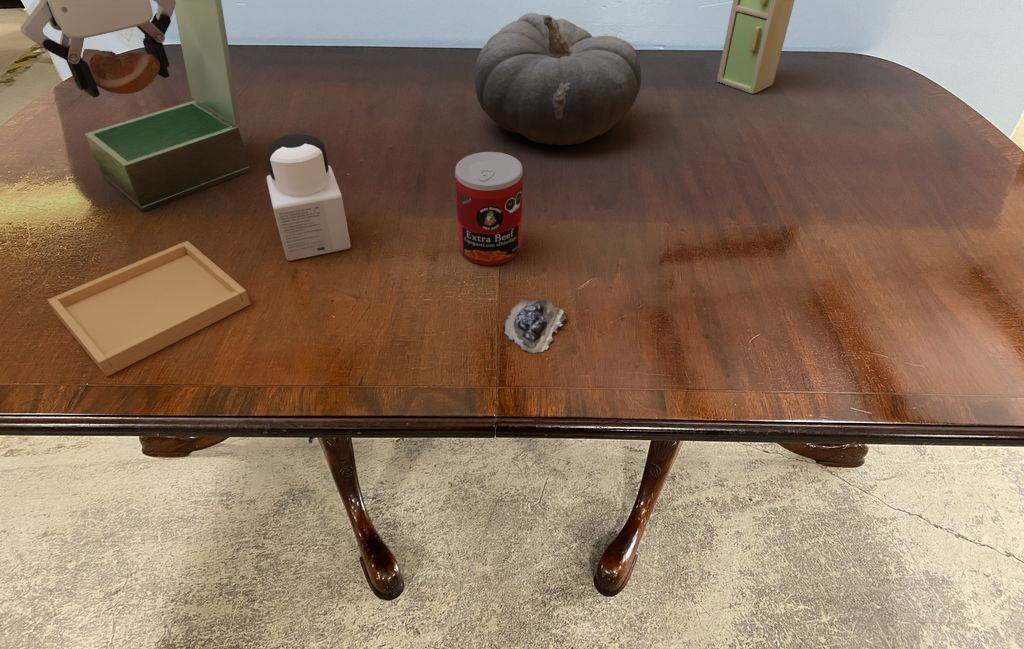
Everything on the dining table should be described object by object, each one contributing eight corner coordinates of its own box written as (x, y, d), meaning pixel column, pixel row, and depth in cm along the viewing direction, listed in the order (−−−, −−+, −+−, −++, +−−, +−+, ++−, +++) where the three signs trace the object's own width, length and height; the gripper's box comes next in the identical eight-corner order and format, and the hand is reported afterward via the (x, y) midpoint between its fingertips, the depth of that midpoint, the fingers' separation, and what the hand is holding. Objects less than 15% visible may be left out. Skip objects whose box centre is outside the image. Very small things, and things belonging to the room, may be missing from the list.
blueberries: (566, 305, 74) (567, 291, 73) (568, 355, 68) (569, 341, 67) (506, 303, 74) (506, 289, 73) (502, 352, 68) (502, 339, 67)
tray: (106, 377, 65) (98, 362, 64) (55, 313, 72) (47, 299, 71) (250, 304, 74) (246, 290, 72) (192, 254, 81) (187, 240, 79)
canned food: (458, 267, 79) (453, 185, 72) (459, 230, 85) (455, 151, 78) (522, 266, 79) (524, 184, 72) (519, 229, 85) (521, 150, 78)
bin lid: (213, -8, 81) (220, -8, 82) (166, -28, 88) (173, -28, 88) (234, 124, 91) (240, 123, 92) (191, 97, 98) (196, 96, 98)
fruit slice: (177, 84, 83) (164, 43, 80) (148, 106, 78) (133, 64, 75) (114, 80, 84) (99, 39, 81) (82, 101, 79) (64, 59, 76)
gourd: (505, 68, 119) (519, -33, 106) (638, 110, 116) (669, 12, 103) (448, 140, 104) (456, 33, 90) (600, 192, 100) (631, 88, 87)
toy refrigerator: (712, 82, 122) (739, -45, 108) (735, 73, 126) (764, -52, 112) (750, 96, 118) (783, -36, 104) (772, 85, 122) (807, -43, 108)
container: (279, 228, 85) (254, 133, 76) (340, 217, 87) (322, 123, 79) (287, 262, 80) (261, 163, 71) (351, 249, 82) (334, 151, 73)
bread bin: (143, 212, 88) (123, 165, 83) (104, 179, 94) (84, 133, 90) (250, 171, 96) (238, 126, 92) (208, 143, 103) (194, 100, 98)
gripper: (133, -101, 75) (181, 57, 87) (-43, -79, 66) (38, 95, 77) (164, -91, 72) (210, 73, 83) (-18, -67, 62) (64, 115, 74)
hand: (127, 83), depth 80 cm, fingers closed on fruit slice, 7 cm apart
